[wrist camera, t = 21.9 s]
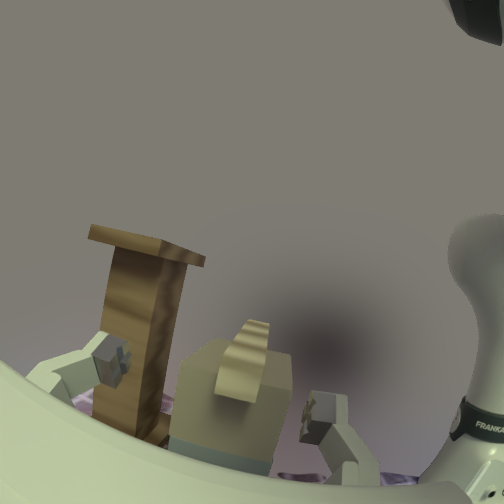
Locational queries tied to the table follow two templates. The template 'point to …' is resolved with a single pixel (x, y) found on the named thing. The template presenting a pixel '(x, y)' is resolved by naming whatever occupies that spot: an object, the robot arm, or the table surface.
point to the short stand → (141, 328)
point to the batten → (244, 363)
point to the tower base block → (219, 457)
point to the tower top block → (231, 405)
